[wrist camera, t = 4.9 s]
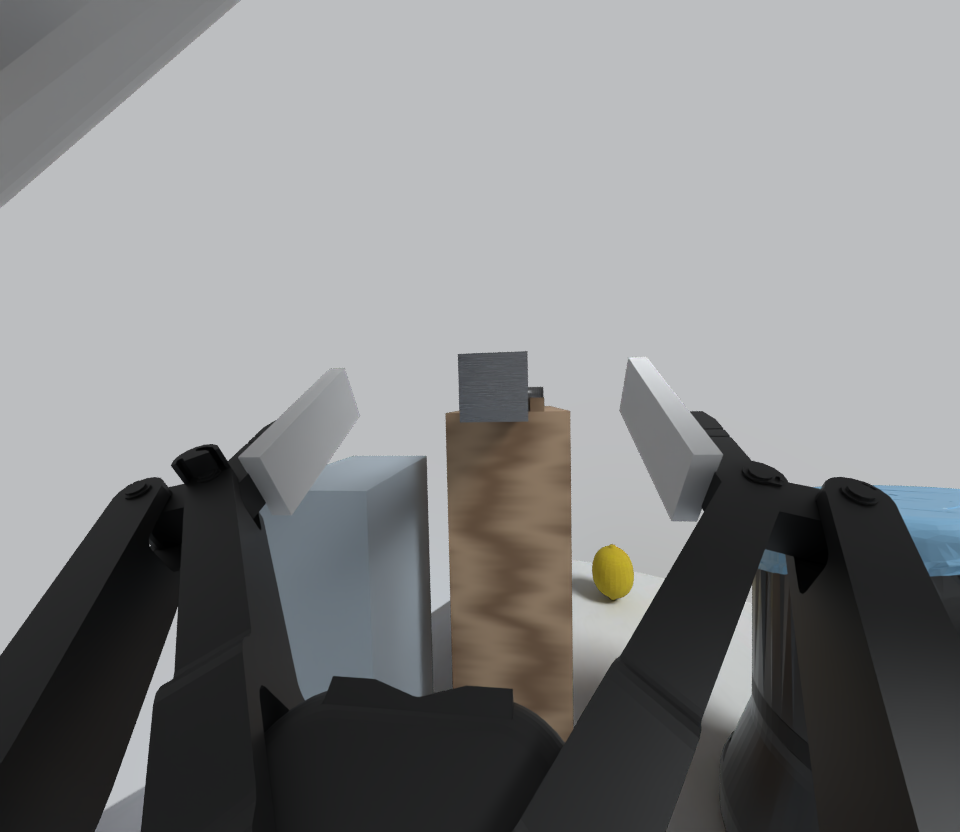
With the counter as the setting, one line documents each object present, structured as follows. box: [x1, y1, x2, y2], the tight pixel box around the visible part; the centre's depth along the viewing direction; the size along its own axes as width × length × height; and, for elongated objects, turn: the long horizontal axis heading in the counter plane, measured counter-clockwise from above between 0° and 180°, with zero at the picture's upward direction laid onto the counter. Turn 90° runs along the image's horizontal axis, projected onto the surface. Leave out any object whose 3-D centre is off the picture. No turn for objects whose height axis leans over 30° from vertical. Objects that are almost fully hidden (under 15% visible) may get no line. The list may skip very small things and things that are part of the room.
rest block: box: [259, 456, 433, 700], centre depth 26 cm, size 7×12×24 cm, turn 173°
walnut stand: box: [446, 397, 573, 742], centre depth 34 cm, size 9×18×29 cm, turn 173°
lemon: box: [592, 544, 634, 600], centre depth 49 cm, size 6×6×8 cm
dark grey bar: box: [458, 351, 543, 423], centre depth 28 cm, size 7×28×3 cm, turn 173°
